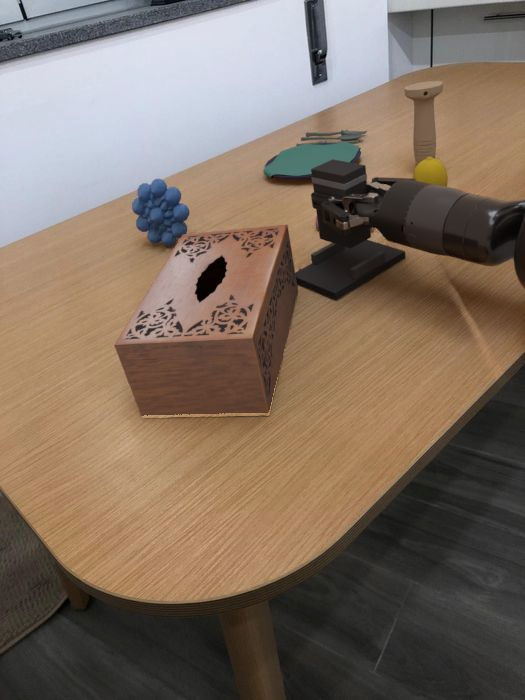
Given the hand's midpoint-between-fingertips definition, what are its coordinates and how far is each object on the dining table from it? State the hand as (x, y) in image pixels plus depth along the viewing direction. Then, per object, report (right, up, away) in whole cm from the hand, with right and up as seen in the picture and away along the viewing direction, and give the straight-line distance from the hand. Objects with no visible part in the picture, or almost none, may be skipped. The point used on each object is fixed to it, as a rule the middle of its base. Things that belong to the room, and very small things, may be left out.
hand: (326, 193), depth 81 cm
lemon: (+19, +3, +18) cm, 26 cm away
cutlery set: (+4, +19, +46) cm, 50 cm away
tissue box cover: (-13, -21, -6) cm, 26 cm away
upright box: (+3, -6, +1) cm, 7 cm away
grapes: (-24, -3, +23) cm, 34 cm away
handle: (+22, +12, +31) cm, 40 cm away
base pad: (+4, -10, +4) cm, 11 cm away
